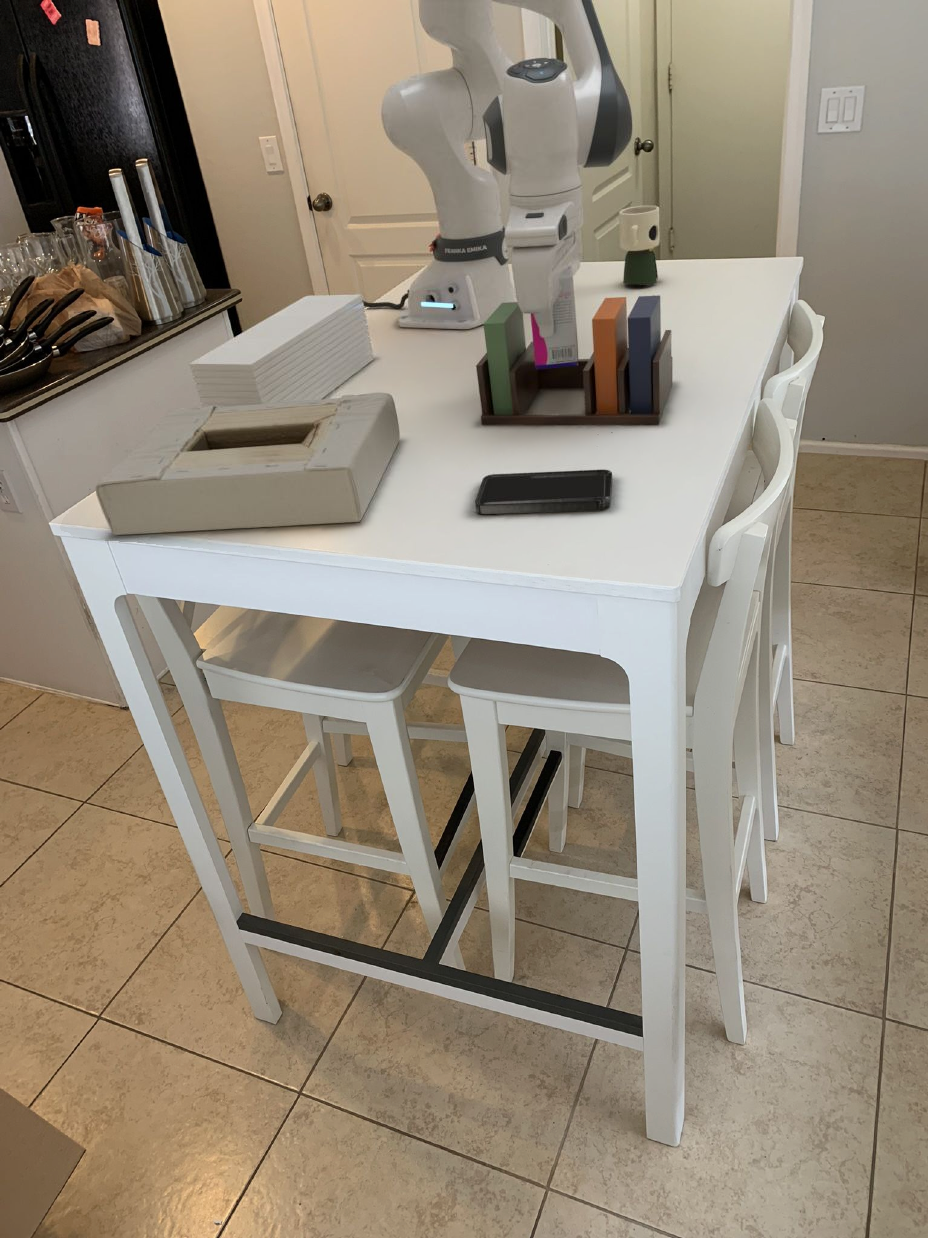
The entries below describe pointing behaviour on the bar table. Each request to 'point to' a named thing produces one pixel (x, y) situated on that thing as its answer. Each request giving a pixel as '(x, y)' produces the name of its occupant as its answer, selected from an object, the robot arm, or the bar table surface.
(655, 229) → the character mug
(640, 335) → the navy book
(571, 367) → the book rack
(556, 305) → the supplement box
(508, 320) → the green book
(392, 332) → the bar table surface
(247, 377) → the white long layered block
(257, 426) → the box
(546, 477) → the phone
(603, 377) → the orange book
